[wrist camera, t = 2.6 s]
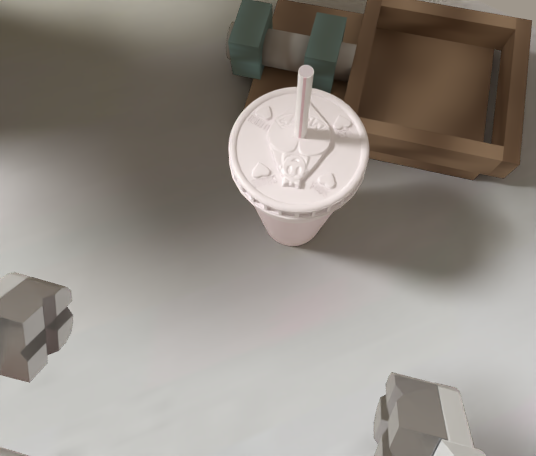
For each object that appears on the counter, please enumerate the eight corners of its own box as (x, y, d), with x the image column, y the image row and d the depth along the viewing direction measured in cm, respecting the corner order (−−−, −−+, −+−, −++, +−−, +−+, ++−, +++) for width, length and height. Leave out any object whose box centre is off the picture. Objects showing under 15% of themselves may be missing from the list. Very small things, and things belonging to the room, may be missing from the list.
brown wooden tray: (213, 124, 31) (203, 88, 27) (253, 4, 35) (249, -44, 31) (496, 185, 29) (530, 154, 25) (509, 51, 33) (541, 6, 29)
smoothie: (346, 181, 30) (402, 22, 16) (335, 274, 28) (388, 179, 14) (252, 168, 30) (231, 3, 17) (234, 258, 28) (195, 153, 15)
